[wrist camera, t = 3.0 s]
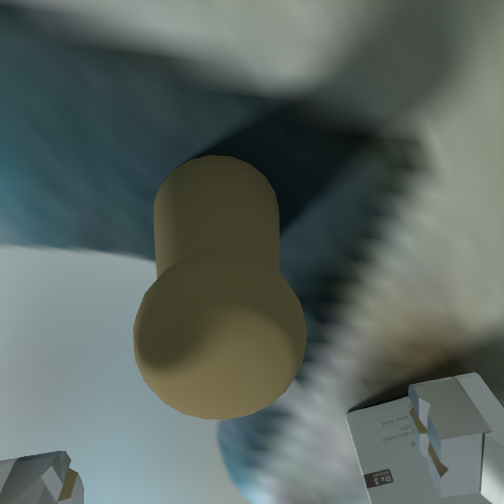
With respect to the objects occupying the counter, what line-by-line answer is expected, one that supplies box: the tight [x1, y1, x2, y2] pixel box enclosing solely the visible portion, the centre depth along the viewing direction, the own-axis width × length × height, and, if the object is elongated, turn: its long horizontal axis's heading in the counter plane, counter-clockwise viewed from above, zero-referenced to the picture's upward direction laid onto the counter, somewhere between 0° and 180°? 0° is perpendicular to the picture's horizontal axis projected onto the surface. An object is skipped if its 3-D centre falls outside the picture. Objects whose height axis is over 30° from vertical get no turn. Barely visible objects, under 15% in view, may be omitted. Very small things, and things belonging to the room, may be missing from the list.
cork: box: [133, 155, 307, 419], centre depth 17 cm, size 6×6×11 cm
